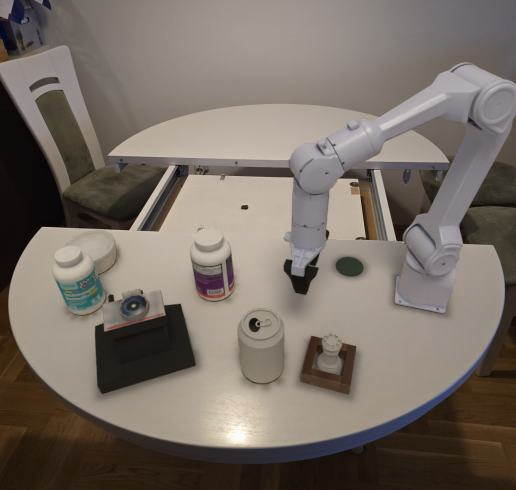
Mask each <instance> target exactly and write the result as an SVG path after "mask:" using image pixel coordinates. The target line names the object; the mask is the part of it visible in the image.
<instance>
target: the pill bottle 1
mask: <svg viewBox="0 0 516 490" xmlns="http://www.w3.org/2000/svg"><path fill="white" fill-rule="evenodd" d="M53 259H54V261H55V262H54V264H53V266H52V270H51V273H52V276H53V278H54V281H55V282H56V285H57V287H58V289H59V292H60V294H61V296H62V299H63V300H64V303H65V305H66V307H67V309H68V311H69V312H71V313H72V314H74V315H77V316H78V315H79V316H83V315H89V314H92V313H94V312H96V311H98V309H101V307H102V304H105V301H106V292H105V289H104V287H103V284H102V281H101V279H100V276H99V274H98V273H97V270H96V267H95V265H94V262H93V260H92V258H91V257H90V256H89V255H87V254H84V253H82V252H81V249H80V248H79V247H77V246H66V247H65V246H63V247H61V248H59V249H58V250H57V251H56V252H55V253H54V256H53Z"/></svg>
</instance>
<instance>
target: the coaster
mask: <svg viewBox="0 0 516 490" xmlns="http://www.w3.org/2000/svg"><path fill="white" fill-rule="evenodd" d="M335 269H336V271H337V272H338V273H339V274H341V275H343V276H346V277H357V276H360V275H361V274H362V273H363V271H364V264H363V263H362V261H360V260H359V259H358V258H356V257H354V256H353V257H352V256H343V257H340V258H338V259H337V260H336V262H335Z"/></svg>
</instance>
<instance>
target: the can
mask: <svg viewBox="0 0 516 490" xmlns="http://www.w3.org/2000/svg"><path fill="white" fill-rule="evenodd" d="M237 341H238V342H237V343H238V351H239V360H240V361H239V362H240V367H241V372H242V374H243V375H244V376H245V378H246V379H248V380H249V381H251V382H254V383H257V384H267V383H271V382H273V381H275V380H277V379H278V378H279V377H280V376H281V374H282V373H283V371H284V368H285V324H284V322H283V320H282V319H281V317H280V315H278V314H277V312H276V311H274V310H272V309H270V308H268V307H256V308H255V307H254V308H252V309H250V310H248V311H247V312H245V314H243V316H242V318H241V319H240V320H239V323H238V324H237Z"/></svg>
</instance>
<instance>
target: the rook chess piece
mask: <svg viewBox="0 0 516 490" xmlns="http://www.w3.org/2000/svg"><path fill="white" fill-rule="evenodd" d="M322 338H323V339H322V345H323V347H322V348H323V353H319V355H318V356H317V357H316V358H317V359H316V360H315V369H317V370H321V371H325V372H329V373H332V374H336V375H340V374H341V373H342V371H343V364H342V358H339V356H338V353H339V351H340V348H341V346H342V343H343V341H342V340H341V338H340V337H339V335H338V334H337V333H335V334H334V333H333V332H329V333H326V334H325V335H324V336H323V337H322Z"/></svg>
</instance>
